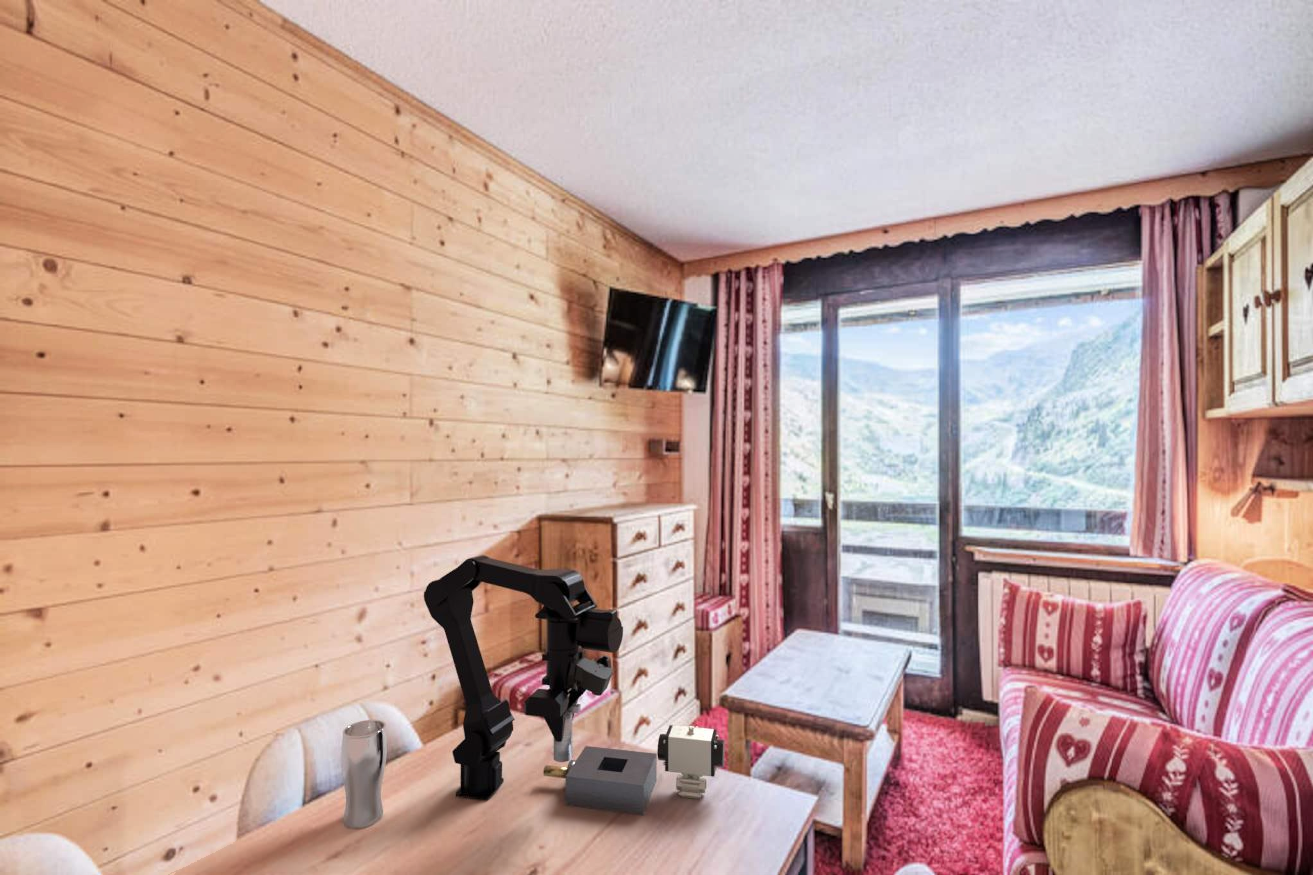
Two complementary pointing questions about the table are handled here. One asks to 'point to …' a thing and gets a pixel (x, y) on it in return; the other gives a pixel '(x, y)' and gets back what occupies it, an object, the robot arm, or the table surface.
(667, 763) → the pneumatic valve
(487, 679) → the robot arm
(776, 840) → the table surface
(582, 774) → the block
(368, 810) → the beer glass
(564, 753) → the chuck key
